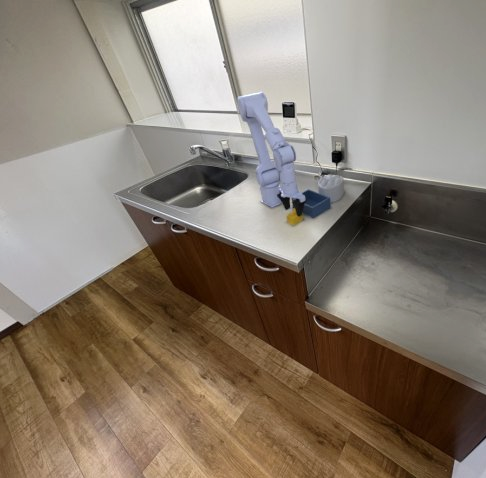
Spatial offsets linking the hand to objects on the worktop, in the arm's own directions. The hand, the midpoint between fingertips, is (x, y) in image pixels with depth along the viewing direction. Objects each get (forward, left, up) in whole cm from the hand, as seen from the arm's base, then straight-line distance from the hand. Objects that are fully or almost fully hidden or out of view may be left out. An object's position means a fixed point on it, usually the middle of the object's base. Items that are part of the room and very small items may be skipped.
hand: (293, 212), depth 98 cm
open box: (-2, +11, -4) cm, 12 cm away
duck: (0, 0, -4) cm, 4 cm away
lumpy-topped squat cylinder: (-3, +24, -5) cm, 24 cm away
